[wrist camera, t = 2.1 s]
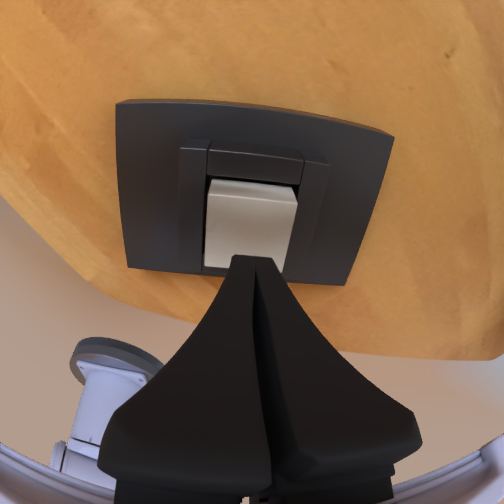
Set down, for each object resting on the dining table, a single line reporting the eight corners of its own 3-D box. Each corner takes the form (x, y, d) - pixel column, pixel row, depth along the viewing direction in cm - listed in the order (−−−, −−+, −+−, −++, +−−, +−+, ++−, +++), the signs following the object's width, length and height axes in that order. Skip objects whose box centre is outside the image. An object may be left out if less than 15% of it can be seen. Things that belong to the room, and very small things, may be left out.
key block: (338, 270, 20) (351, 305, 17) (135, 252, 18) (118, 286, 16) (381, 129, 14) (412, 146, 11) (127, 99, 13) (98, 108, 10)
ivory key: (278, 251, 15) (282, 273, 13) (207, 245, 15) (204, 266, 13) (292, 186, 13) (298, 203, 11) (212, 178, 12) (207, 194, 11)
